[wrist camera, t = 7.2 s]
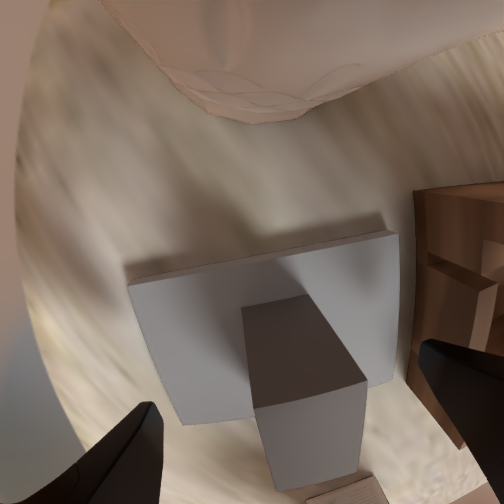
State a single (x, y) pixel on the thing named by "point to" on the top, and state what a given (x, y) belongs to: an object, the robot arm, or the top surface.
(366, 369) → the cover plate
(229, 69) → the beige cup
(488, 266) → the walnut box
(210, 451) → the top surface
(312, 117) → the top surface
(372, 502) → the syrup box
